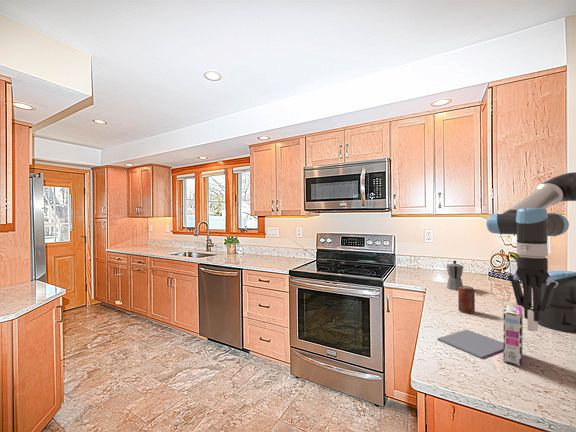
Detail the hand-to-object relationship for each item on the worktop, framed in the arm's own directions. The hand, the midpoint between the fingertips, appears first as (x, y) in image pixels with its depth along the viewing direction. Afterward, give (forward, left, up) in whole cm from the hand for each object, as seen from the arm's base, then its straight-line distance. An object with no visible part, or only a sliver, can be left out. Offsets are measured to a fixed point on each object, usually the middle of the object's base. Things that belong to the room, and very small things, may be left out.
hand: (532, 330), depth 92 cm
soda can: (-31, -42, -12) cm, 53 cm away
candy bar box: (0, -6, -12) cm, 13 cm away
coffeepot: (-66, -72, -12) cm, 98 cm away
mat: (+1, -18, -11) cm, 22 cm away
